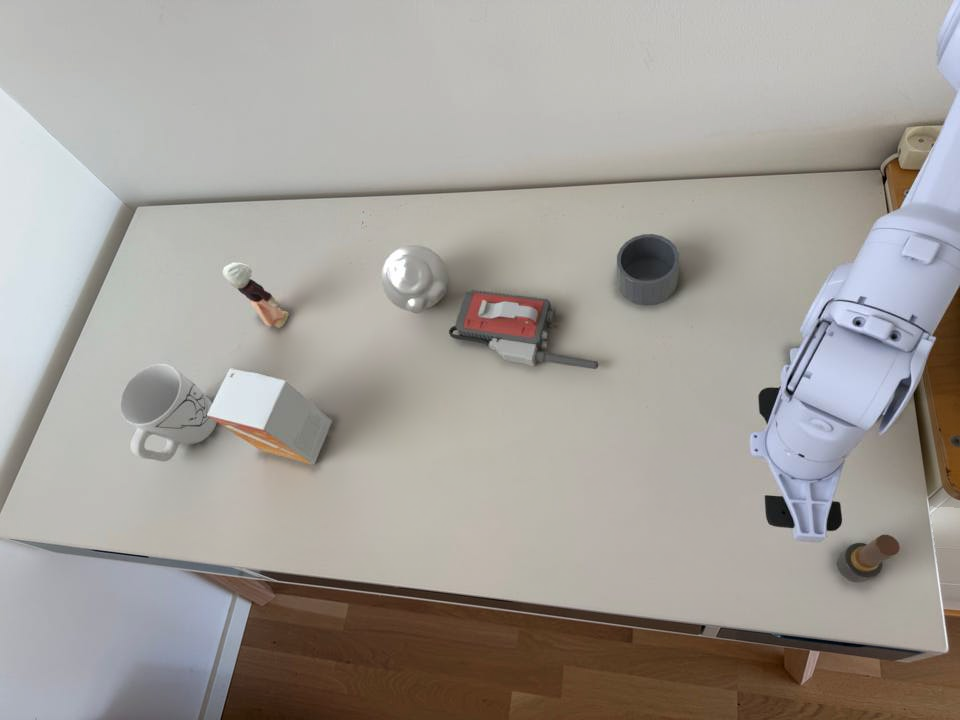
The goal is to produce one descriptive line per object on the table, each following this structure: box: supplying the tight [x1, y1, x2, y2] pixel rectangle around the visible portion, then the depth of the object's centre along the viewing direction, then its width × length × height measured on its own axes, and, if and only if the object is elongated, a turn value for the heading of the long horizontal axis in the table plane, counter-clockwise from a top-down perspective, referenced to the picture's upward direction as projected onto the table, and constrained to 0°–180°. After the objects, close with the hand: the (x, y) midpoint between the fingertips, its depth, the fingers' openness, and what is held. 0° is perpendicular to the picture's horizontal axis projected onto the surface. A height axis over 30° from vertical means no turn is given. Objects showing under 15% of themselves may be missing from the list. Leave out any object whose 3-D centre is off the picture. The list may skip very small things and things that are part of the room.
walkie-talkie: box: [448, 289, 600, 370], centre depth 82 cm, size 9×4×20 cm
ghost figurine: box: [380, 244, 449, 315], centre depth 86 cm, size 9×10×10 cm
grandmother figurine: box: [222, 261, 290, 328], centre depth 89 cm, size 8×4×13 cm, turn 68°
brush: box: [836, 534, 901, 583], centre depth 60 cm, size 3×3×10 cm
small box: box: [207, 367, 333, 466], centre depth 79 cm, size 8×6×13 cm
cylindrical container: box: [616, 233, 680, 306], centre depth 82 cm, size 7×7×5 cm
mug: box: [119, 363, 218, 462], centre depth 84 cm, size 11×8×10 cm
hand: (782, 478), depth 60 cm, fingers open, 7 cm apart
